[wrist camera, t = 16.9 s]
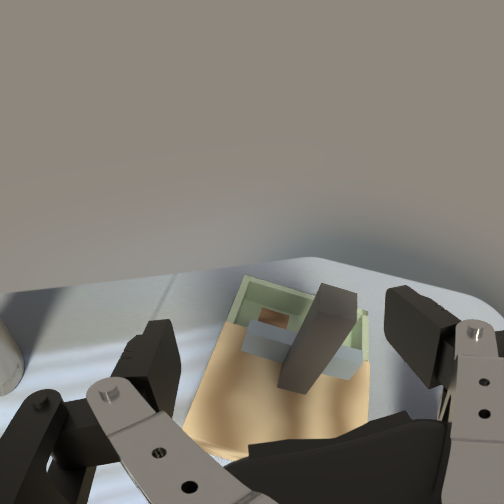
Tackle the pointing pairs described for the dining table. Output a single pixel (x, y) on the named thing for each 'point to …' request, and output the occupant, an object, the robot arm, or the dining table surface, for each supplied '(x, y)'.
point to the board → (267, 402)
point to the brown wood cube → (273, 318)
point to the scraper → (311, 342)
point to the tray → (287, 309)
